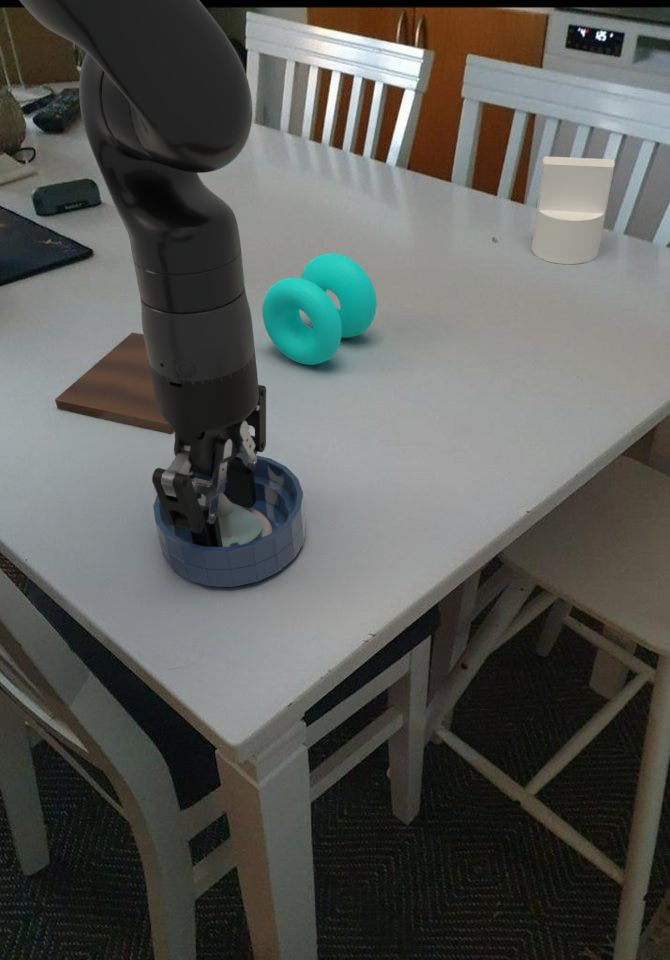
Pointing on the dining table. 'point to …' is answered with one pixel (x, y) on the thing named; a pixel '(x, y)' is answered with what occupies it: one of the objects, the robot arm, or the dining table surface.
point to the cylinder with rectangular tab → (571, 208)
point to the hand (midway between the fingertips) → (226, 525)
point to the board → (118, 388)
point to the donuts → (319, 308)
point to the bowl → (251, 560)
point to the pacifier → (239, 522)
